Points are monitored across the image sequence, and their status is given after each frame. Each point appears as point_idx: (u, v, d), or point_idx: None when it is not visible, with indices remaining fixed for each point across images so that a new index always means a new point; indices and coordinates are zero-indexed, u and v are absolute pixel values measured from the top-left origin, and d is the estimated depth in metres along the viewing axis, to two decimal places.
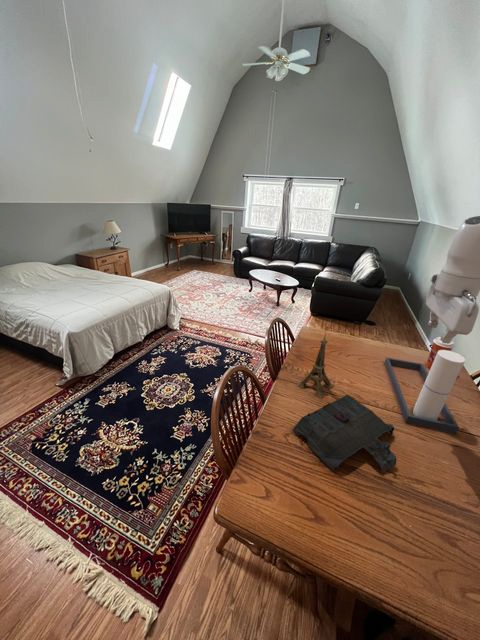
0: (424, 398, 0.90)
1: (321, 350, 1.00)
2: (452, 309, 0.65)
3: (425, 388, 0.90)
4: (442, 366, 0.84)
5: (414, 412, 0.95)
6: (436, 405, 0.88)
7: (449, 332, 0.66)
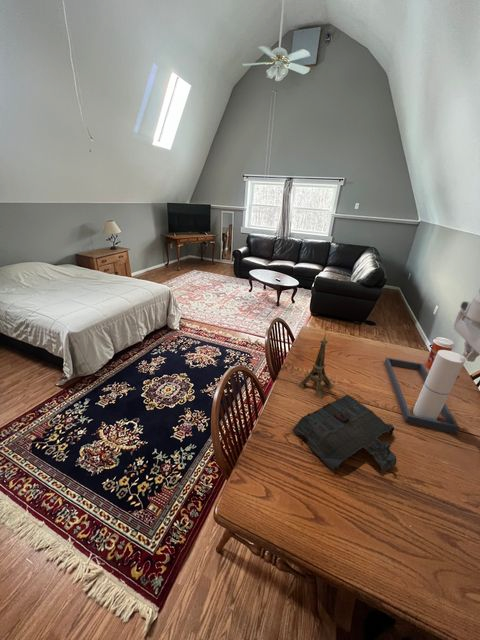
0: (424, 398, 0.90)
1: (321, 350, 1.00)
2: None
3: (425, 388, 0.90)
4: (442, 366, 0.84)
5: (414, 412, 0.95)
6: (436, 405, 0.88)
7: (474, 352, 0.72)
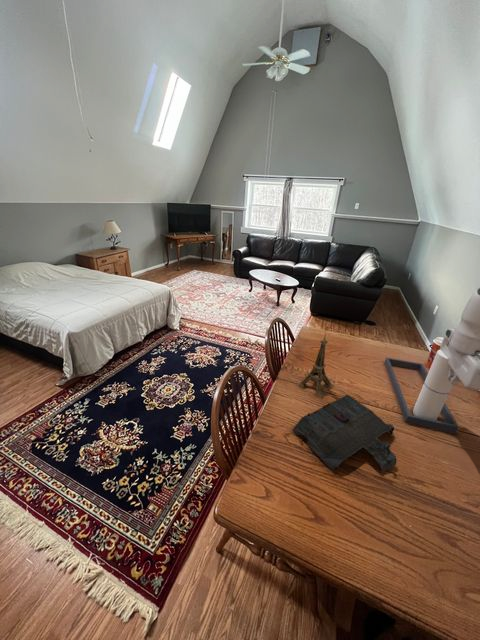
0: (424, 398, 0.90)
1: (321, 350, 1.00)
2: (465, 366, 0.73)
3: (425, 388, 0.90)
4: (442, 365, 0.84)
5: (414, 412, 0.95)
6: (436, 405, 0.88)
7: (457, 377, 0.78)
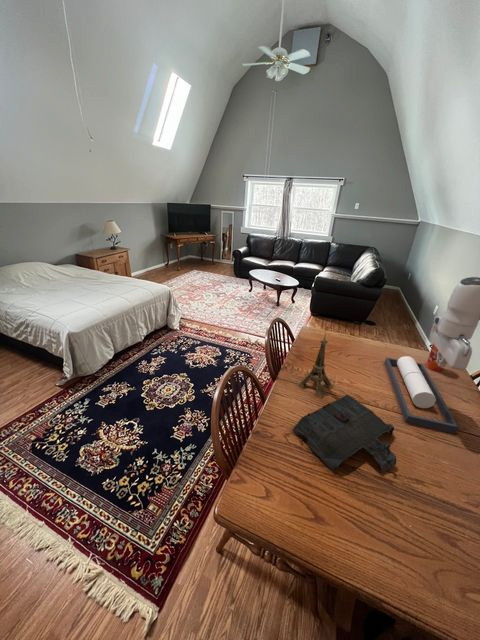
0: (410, 380, 1.04)
1: (321, 350, 1.00)
2: (451, 349, 0.82)
3: (405, 377, 1.08)
4: (403, 360, 1.16)
5: (413, 395, 0.98)
6: (421, 379, 1.02)
7: (444, 359, 0.87)
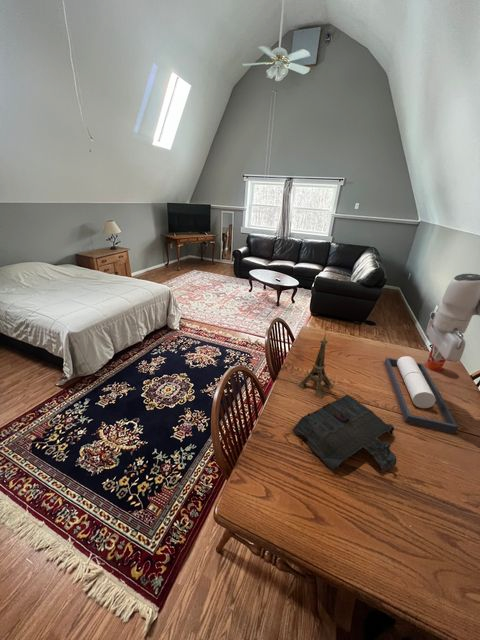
0: (410, 380, 1.04)
1: (321, 350, 1.00)
2: (446, 342, 0.85)
3: (405, 377, 1.08)
4: (403, 360, 1.16)
5: (413, 395, 0.98)
6: (421, 379, 1.02)
7: (439, 353, 0.90)
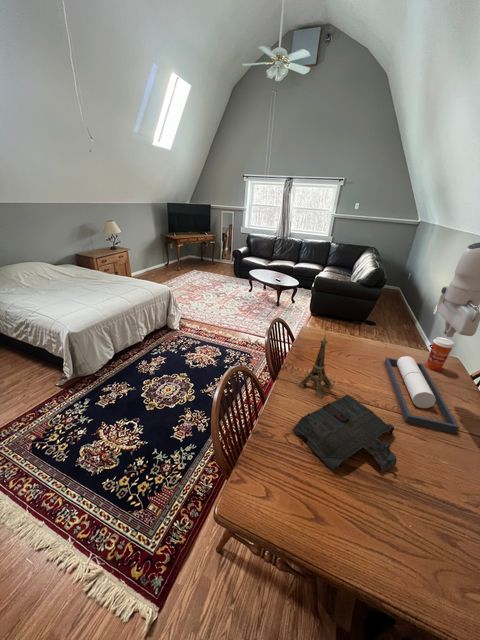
0: (410, 380, 1.04)
1: (321, 350, 1.00)
2: (459, 316, 0.81)
3: (405, 377, 1.08)
4: (403, 360, 1.16)
5: (413, 395, 0.98)
6: (421, 379, 1.02)
7: (452, 328, 0.86)
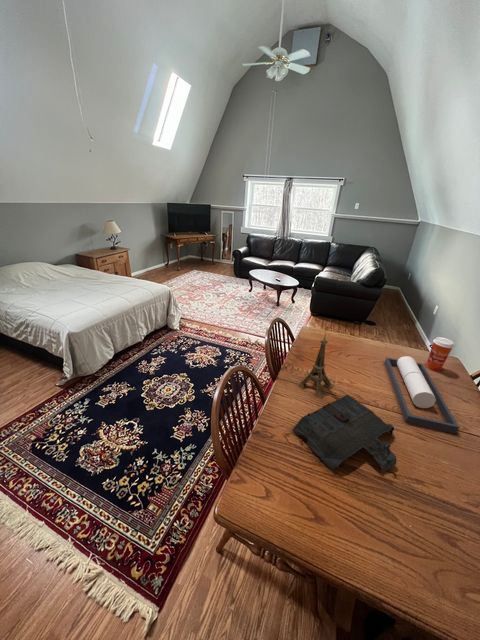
0: (410, 380, 1.04)
1: (321, 350, 1.00)
2: None
3: (405, 377, 1.08)
4: (403, 360, 1.16)
5: (413, 395, 0.98)
6: (421, 379, 1.02)
7: None
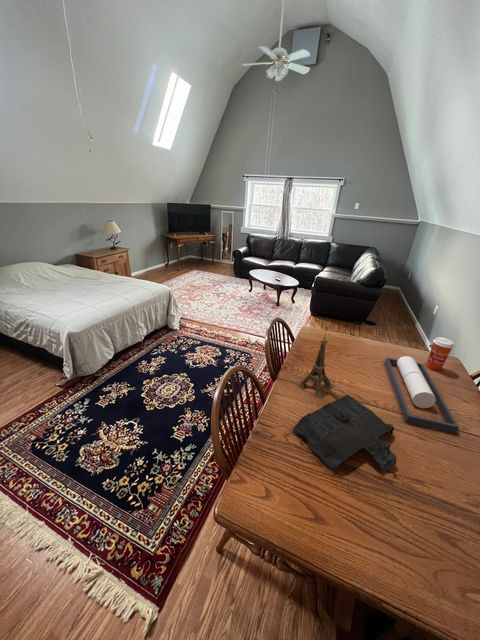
0: (410, 380, 1.04)
1: (321, 350, 1.00)
2: None
3: (405, 377, 1.08)
4: (403, 360, 1.16)
5: (413, 395, 0.98)
6: (421, 379, 1.02)
7: None
